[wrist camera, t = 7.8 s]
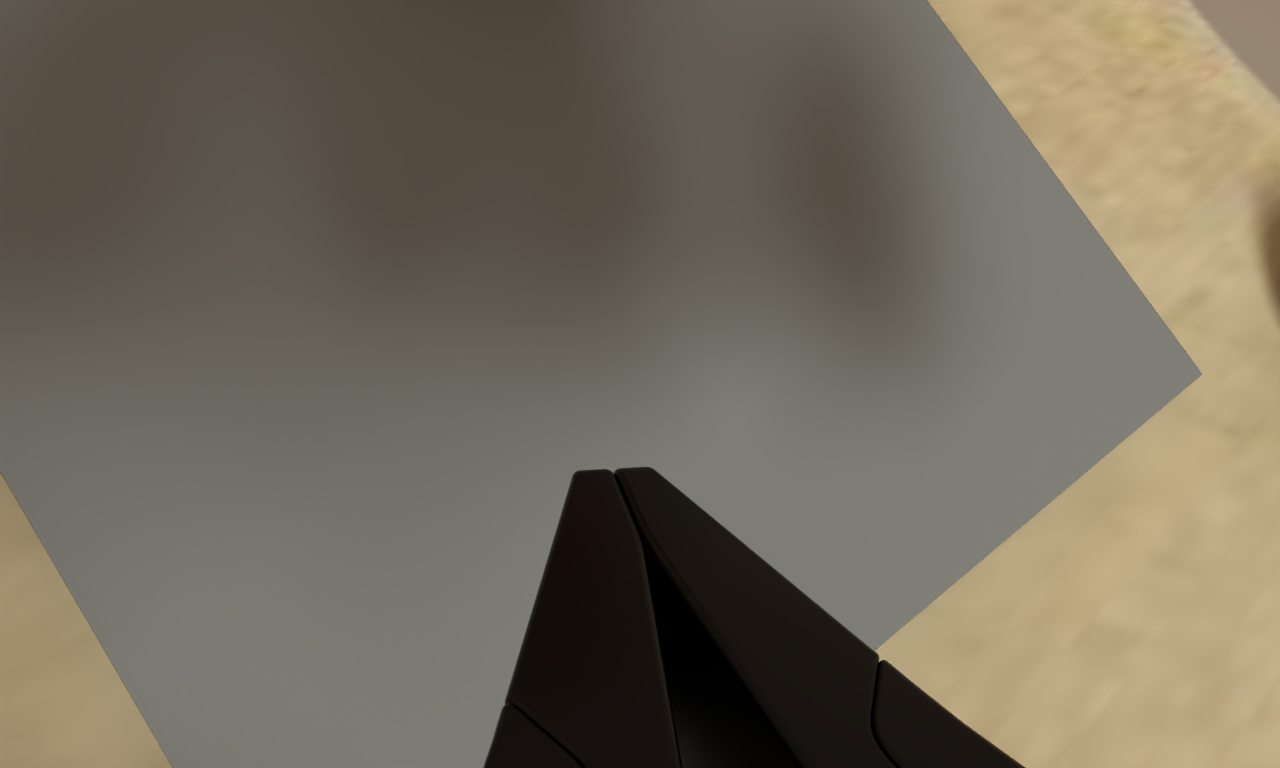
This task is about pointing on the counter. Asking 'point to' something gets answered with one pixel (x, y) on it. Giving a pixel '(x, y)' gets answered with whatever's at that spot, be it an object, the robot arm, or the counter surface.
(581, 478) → the robot arm
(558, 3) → the slate mat
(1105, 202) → the counter surface
